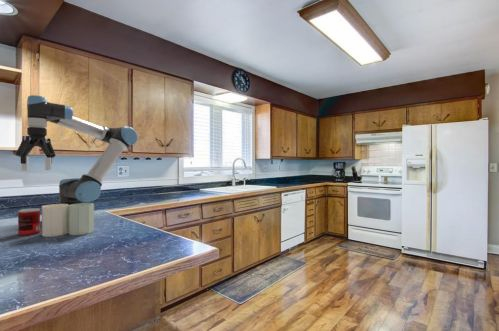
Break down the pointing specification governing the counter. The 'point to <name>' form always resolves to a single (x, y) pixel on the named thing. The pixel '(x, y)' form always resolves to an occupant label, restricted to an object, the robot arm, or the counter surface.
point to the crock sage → (80, 218)
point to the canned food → (28, 221)
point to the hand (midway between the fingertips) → (37, 170)
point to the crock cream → (54, 220)
